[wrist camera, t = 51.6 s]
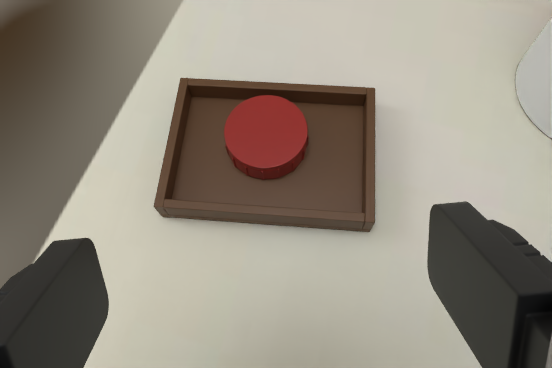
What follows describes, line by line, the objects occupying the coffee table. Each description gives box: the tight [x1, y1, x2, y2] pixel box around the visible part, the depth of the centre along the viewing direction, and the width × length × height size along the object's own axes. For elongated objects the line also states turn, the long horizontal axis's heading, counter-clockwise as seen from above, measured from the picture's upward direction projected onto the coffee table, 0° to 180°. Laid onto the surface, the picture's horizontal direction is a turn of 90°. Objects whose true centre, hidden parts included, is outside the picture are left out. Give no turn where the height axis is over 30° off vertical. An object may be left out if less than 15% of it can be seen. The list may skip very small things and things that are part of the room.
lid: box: [224, 95, 309, 180], centre depth 31 cm, size 6×6×2 cm
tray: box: [154, 78, 375, 232], centre depth 31 cm, size 14×10×2 cm
